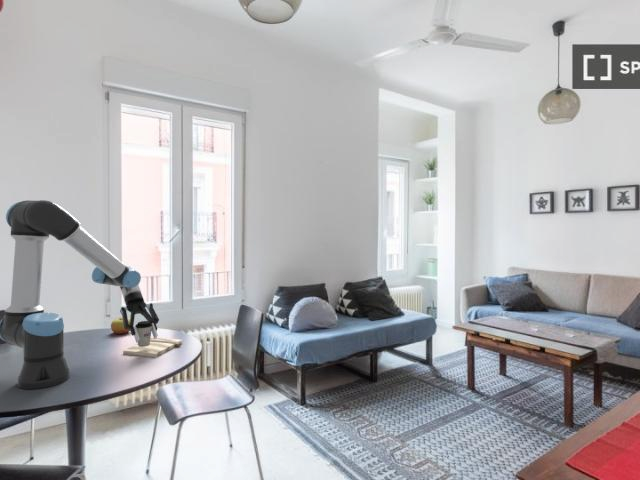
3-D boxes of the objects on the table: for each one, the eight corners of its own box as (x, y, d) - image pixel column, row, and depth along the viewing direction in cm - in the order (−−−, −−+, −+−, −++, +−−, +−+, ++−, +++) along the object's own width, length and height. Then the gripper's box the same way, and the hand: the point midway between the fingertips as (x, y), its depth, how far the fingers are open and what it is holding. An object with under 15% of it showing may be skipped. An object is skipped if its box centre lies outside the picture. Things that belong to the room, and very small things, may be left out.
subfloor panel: (159, 357, 163) (159, 353, 162) (120, 353, 167) (120, 349, 166) (185, 343, 182) (185, 339, 182) (149, 340, 186) (149, 336, 186)
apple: (106, 334, 194) (106, 318, 194) (121, 329, 204) (121, 314, 203) (121, 336, 191) (121, 320, 191) (136, 331, 200) (136, 316, 200)
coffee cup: (131, 346, 165) (131, 323, 165) (143, 341, 172) (143, 319, 171) (144, 348, 163) (144, 325, 163) (156, 343, 170) (156, 321, 169)
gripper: (152, 298, 184) (167, 339, 174) (107, 303, 170) (120, 348, 160) (156, 288, 180) (172, 329, 170) (111, 293, 166) (124, 339, 156)
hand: (147, 339), depth 165 cm, fingers closed on coffee cup, 7 cm apart
